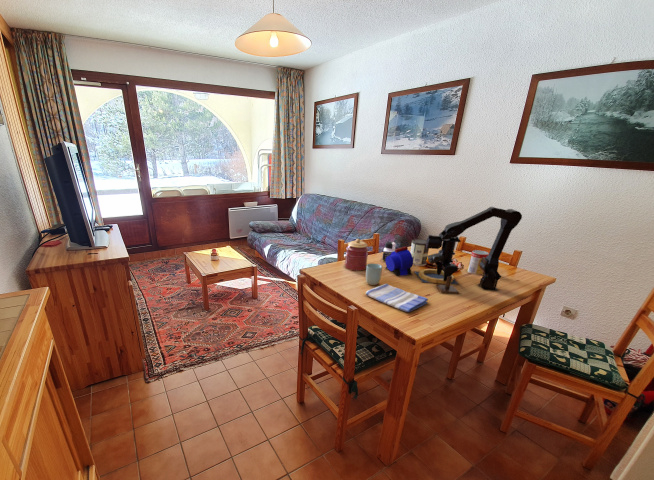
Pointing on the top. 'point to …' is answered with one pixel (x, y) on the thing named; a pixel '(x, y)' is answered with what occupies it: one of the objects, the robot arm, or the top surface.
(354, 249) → the kitchen canister
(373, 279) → the cup
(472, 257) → the canned food
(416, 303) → the dish towel
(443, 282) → the hoop
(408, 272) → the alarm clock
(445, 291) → the peg stand
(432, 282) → the felt mat
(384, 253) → the medicine bottle
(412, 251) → the coffee can
